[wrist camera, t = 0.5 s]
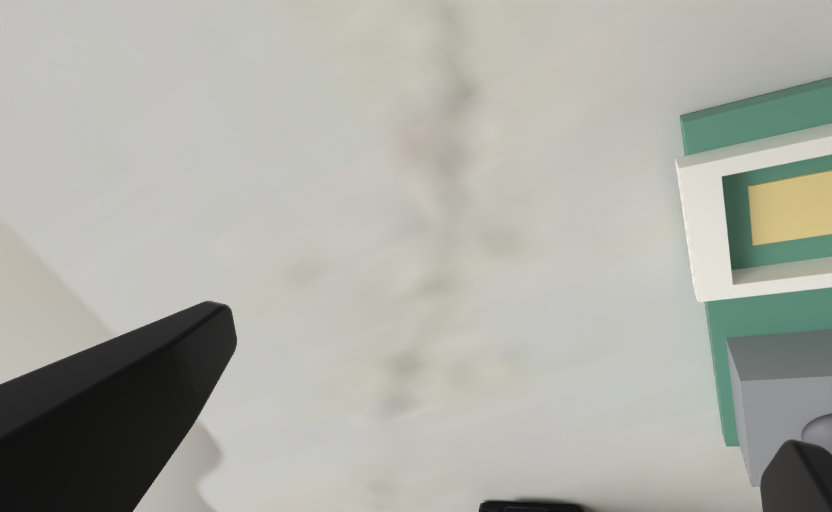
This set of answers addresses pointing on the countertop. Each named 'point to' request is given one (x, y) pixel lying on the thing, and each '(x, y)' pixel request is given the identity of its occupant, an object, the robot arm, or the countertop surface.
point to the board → (764, 263)
